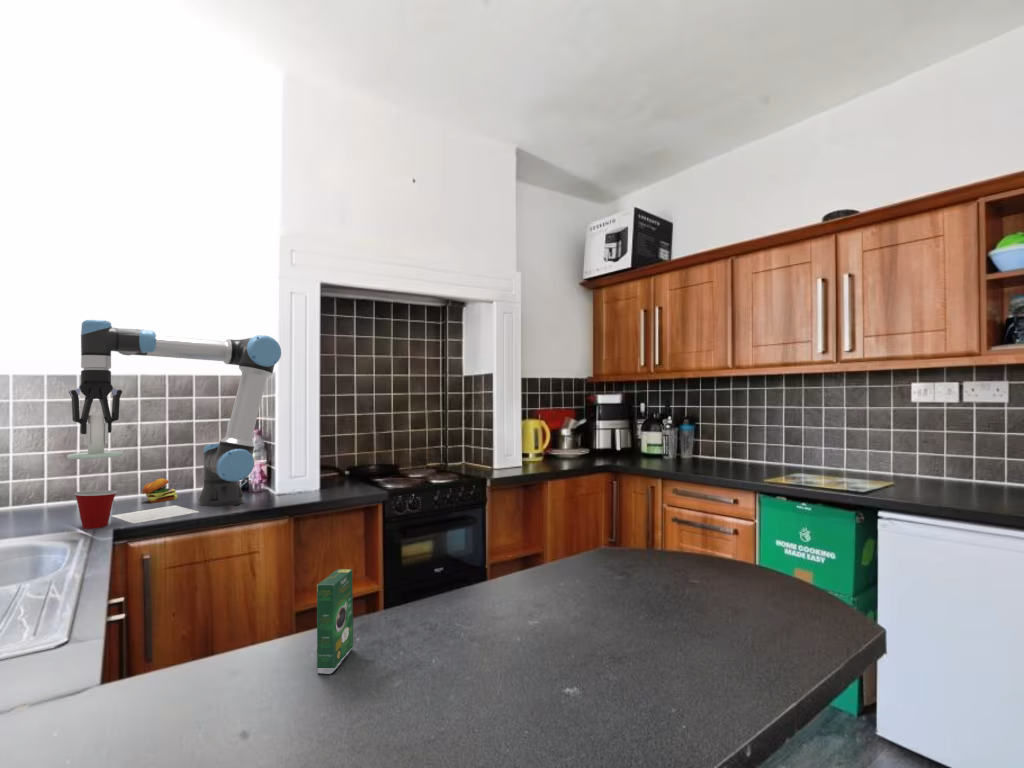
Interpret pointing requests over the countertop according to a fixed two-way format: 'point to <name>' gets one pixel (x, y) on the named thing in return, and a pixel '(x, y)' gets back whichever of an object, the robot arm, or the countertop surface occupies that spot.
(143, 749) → the countertop surface
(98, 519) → the plastic cup
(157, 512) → the mat
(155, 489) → the cheeseburger
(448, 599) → the countertop surface
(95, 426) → the lid
